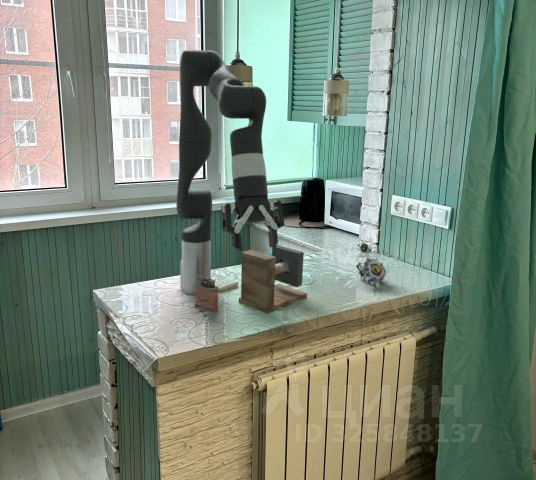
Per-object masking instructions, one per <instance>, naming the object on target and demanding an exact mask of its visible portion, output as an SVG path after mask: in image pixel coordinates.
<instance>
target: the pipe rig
mask: <svg viewBox="0 0 536 480" xmlns="http://www.w3.org/2000/svg"><path fill="white" fill-rule="evenodd" d="M275 263H276V257H274V256H271V255H270V254H267V253H264V252H260V251H256V250H254V249H248V250H246V251H242V252H241V273H240V274H241V279H240V281H241V282H240V283H241V285H240V297H238V303H239V304H241V305H244V306H246V307H249V308H252V309H254V310H257V311H259V312H261V313H262V312H263V313H264V314H267V315H268V314H271V313H272V312H275V311H277V310H280V309H282V308H285V307H286V306H290V305H292V304H295V303H297V302H299V301H302V300H304V299H306V298H307V297H308V292H305V291H303V290H299V289H297V288H293V287H292V286H288V285H284V284H282V283H277V284H275V283H276V282H275V281H276V280H275V275H276V274H279V273H282V272H285V271H288V270H290V262H289V261H285V262H282V263H279V264H275Z"/></svg>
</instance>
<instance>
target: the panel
mask: <svg viewBox="0 0 536 480" xmlns="http://www.w3.org/2000/svg"><path fill="white" fill-rule="evenodd" d="M271 251H272V256H274V257H276V263H275V264H279V263H282V262H284V261H285V260H286V261H289V262H290V271H285V272H282V273H279V274H276V275H275V281H278V282H280V283H283V284H286V285H289V286H291V287H295V288H299V287H301V286H303V273H304V272H303V271H304V255H305V253H304V251H302V250H301V251H300V250H296V249H293V248H290V247H286V246H283V245H279V244H276V247H271Z"/></svg>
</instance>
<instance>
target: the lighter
mask: <svg viewBox="0 0 536 480" xmlns="http://www.w3.org/2000/svg"><path fill="white" fill-rule="evenodd" d="M197 280H198V281H201V282H197V283H195V295H194V296H195V299H194V300H195V301H194V303H195V304H194V308H195V309H197V310H200V311H202V312H206V313H211V314H215V313H216V314H217V313H218V312H219V310H220V309H219V289H220V287H219V286H217V285H216V284H215V283H216V280H215V279H212V278H210V277H207V278H205V277H203V276H198V277H197Z"/></svg>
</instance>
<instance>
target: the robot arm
mask: <svg viewBox="0 0 536 480" xmlns="http://www.w3.org/2000/svg"><path fill="white" fill-rule="evenodd" d="M178 65H179V67H178V69H179V91H180V93H179V95H180V96H179V97H180V113H179V114H180V115H179V116H180V119H179V120H180V121H179V132H178V133H179V134H178V162H179V163H178V166H179V167H178V182H177V192H176V207H175V208H176V213H177V216H178V217H179V218H180V219H182V220H184V219H185V220H195V219H196V220H197V219H198V220H199V221H197V222H196V223H195V224H193V225H191V226H189V227H186V228H184V229H183V230H182V231H181V260H180V261H179V265H180V266H179V272H180V273H179V276H180V285H179V287H180V289H181V290H182V292H183V293H185V294H187V295H194V296H195V283H197V282H201V281H198V280H197V277H198V276H203V277H205V278H207V277H210V278H211V277H212V270H211V269H212V267H211V265H212V264H211V263H212V262H211V260H212V256H211V255H212V251H211V250H212V243H211V242H212V216H213V215H212V213H213V196H212V193H211V191H210V190H209V189H207V188H206V189H205V188H195V189H194V188H192V189H191V188H190V187H191V183H192V181H193V179H194V178H195V176H196V175H197V173H198V172H199V171H200V170H201V168H202V167H203V166H204V164H205V163H206V162H207V161H208V159H209V157H210V154H211V151H212V135H213V132H212V129H211V126H210V125H209V123H208V120H207V119H206V117H205V116H204V114H203V113H202V111H201V109H200V108H199V106H198V104H197V102H196V99H195V94H194V92H195V91H194V89H195V87H208V89H209V93H210V94H211V95H212V97H213V98H214V99H215V100H216V101H217V102H218V108H219V109H218V110H219V113H220V114H221V116H223V117H225V118H227V119H232V120H234V119H243V120H244V119H247V120H248V124H247V126H244V127H240V128H239V127H238V128H236V129H234V130H232V131H231V132H230V134H229V143H230V144H229V145H230V153H231V175H232V176H231V177H232V178H231V179H232V186H233V198H234V203H224V204H221V207H220V208H221V230H222V231H223V232H225V233H228V234H231V243H232V246H231V247H232V248H233V249H234V250H235V252H241V251H242V252H243V246H242V234H241V233H240V231H241V230H242V228H243V226H244V225H245V224H246V223H251V222H254V223H255V222H261V223H262V225H264V226H265V227H266V229H268V231H267V236H268V245H269V246H268V247H269V248H272V247H276V245H279V239H278V230H279V229H280V228H282V227H284V226H285V219H284V212H283V205H282V201H281V200H274V201H271V202H270V201H269V198H268V197H269V195H268V194H269V192H268V181H267V171H266V169H267V168H266V162H265V158H264V150H263V140H262V133H263V126H264V119H265V113H266V107H267V96H266V94H265V91H264V90H263V89H262V88H261V87H259V86H255V85H253V86H252V85H244V83H243V82H242V81H241V80H240V79H239V78H238V77H236V76H235V75H234V74H233V73H231V71H230V69H229V67H228V66H227V64H226V62H225V61H224V59H223V57H222V56H221V55H220V54H219V53H218V52H216V51H215V50H205V49H199V50H198V49H186V50H183V51H182V52H181V54H180V57H179V64H178ZM269 209H270V211H271V212H272V214H273V215H270V213H269V212H268V211H269ZM234 212H235V213H236V214H237V216H236V218H235V220H234V221H233V224H232V214H233V213H234ZM272 216H273V217H272ZM211 279H212V278H211Z"/></svg>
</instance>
